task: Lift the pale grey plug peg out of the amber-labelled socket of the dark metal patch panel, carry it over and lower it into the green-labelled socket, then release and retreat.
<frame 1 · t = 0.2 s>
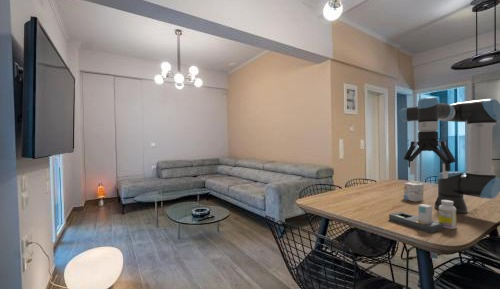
hand: (427, 176, 108), 26 cm above the table, fingers open, 13 cm apart
ink box: (413, 199, 164), on the table
plug: (425, 227, 114), resting in panel
panel: (414, 224, 118), on the table
supplement bottle: (447, 227, 114), on the table
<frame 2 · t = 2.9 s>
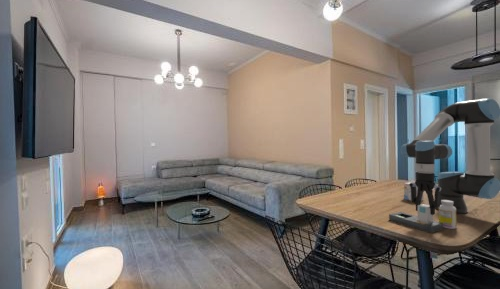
hand: (425, 219, 114), 4 cm above the table, fingers closed on plug, 4 cm apart
plug: (425, 227, 114), resting in panel, touching gripper
everything else where it was.
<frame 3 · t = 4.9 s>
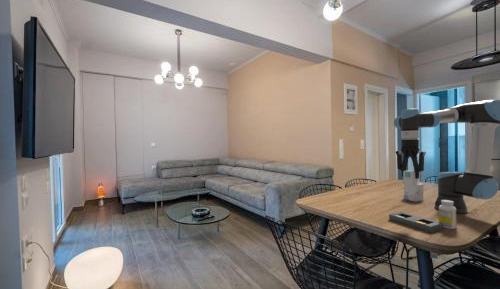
hand: (410, 183, 120), 21 cm above the table, fingers closed on plug, 4 cm apart
plug: (410, 191, 120), point 16 cm above the table, touching gripper
everything else where it was.
when the fingers open (6 cm above the table, at t = 7.1 s): plug drops 1 cm, resting in panel.
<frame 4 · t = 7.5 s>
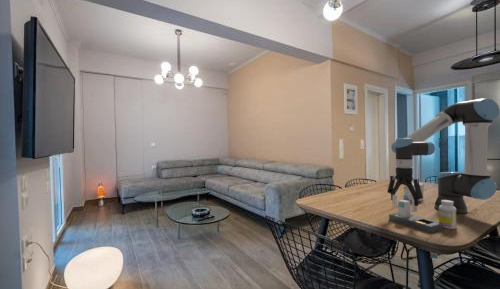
hand: (404, 208, 123), 7 cm above the table, fingers open, 9 cm apart
plug: (404, 221, 123), resting in panel
everything else where it was.
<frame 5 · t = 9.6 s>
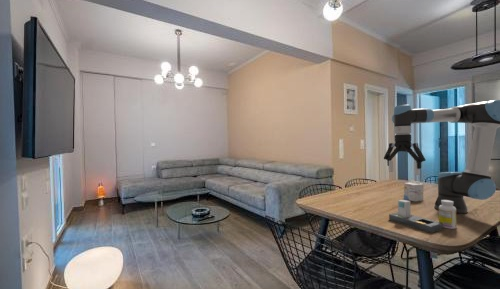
hand: (403, 173, 124), 25 cm above the table, fingers open, 13 cm apart
nothing on the table moved.
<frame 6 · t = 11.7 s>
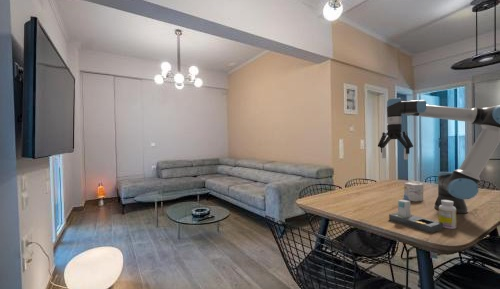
hand: (394, 158, 141), 32 cm above the table, fingers open, 13 cm apart
nothing on the table moved.
at the end: plug 0.0 cm from the target spot on the panel, point 0.0 cm above the panel's base; plug tilted 0°; the gripper is holding nothing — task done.
